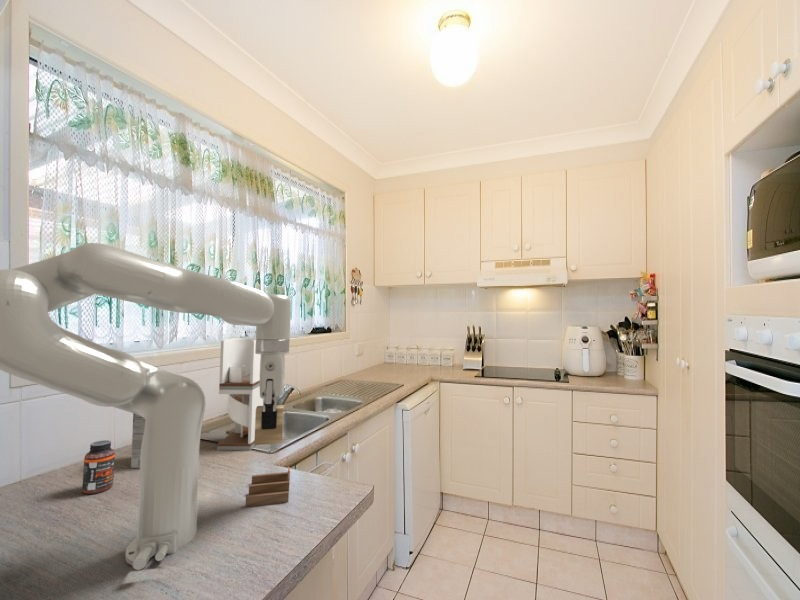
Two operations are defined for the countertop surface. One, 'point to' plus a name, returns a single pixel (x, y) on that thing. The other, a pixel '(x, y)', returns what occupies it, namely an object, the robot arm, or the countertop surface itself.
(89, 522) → the countertop surface
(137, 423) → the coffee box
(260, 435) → the block
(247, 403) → the display case
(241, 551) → the countertop surface
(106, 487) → the supplement bottle
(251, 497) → the rack
